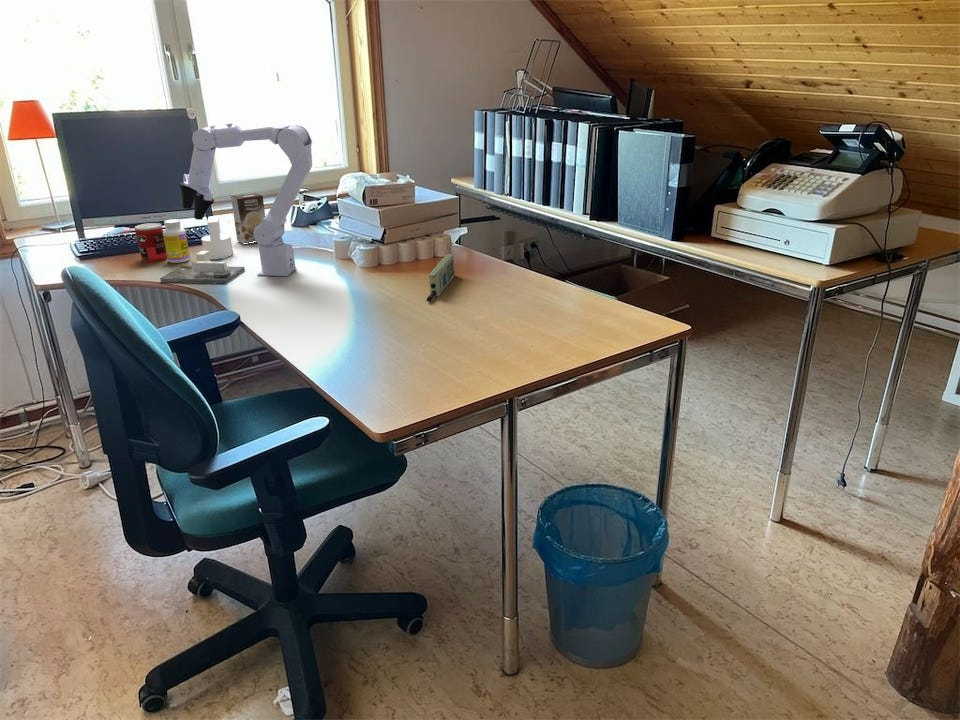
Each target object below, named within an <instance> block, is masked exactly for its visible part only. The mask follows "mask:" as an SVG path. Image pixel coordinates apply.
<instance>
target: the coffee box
mask: <svg viewBox="0 0 960 720" xmlns="http://www.w3.org/2000/svg"><path fill="white" fill-rule="evenodd" d="M230 201H231V206H232V212H233V213H232V215H233V221H234V227H235V234H236V235H235V236H236V240H237V241H239V242H241V243H249V242H253V241H256V240H255V239H254V236H253V232H254V229H255V227H257V226H258V225H260V224H261V222H262V221H263V219H264V218H265V216H266V213H265V212H266V211H265V204H264V197H263V194H260V193H256V192H253V193H245V194H237V195H235V194H234V195H231V196H230ZM239 242H238V243H239ZM241 243H240V244H241Z"/></svg>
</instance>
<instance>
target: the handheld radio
mask: <svg viewBox="0 0 960 720" xmlns="http://www.w3.org/2000/svg"><path fill="white" fill-rule="evenodd" d="M454 258H455V257H454V255H453V254H451V253H450V254H445V255H444V257H442V259H441V260H440V261H439V262H438V264H437V265H436V266H435V267H434V268H433V269H432V271H431V272H429V274H428V277H429V278H428V279H429V289H430V293H429V295H428V296H427V298H426V301H427V302H428V303H430V302H431V301H433V299H434V297H436V296H438V297H440V295H441V294H442V293H443V292H444V290H445V289H446V288H447V286H448V285H449V284H450V283H451V281H452V280H453V279H454V277H455V276H456V273H455V272H456V271H455V259H454Z"/></svg>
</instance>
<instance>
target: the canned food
mask: <svg viewBox="0 0 960 720" xmlns="http://www.w3.org/2000/svg"><path fill="white" fill-rule="evenodd" d="M134 230H135V237H136V241H137V245H138V248H139V249H138V250H139V253H140V258H141V260H142V262H144V261H146V262H145V263H156V262H155V261H158V262H162V260H163V261H165V260H168V257H167V252H166V247H165V242H164V237H163V231H164V230H163V226H162V224H161V223H159V222H149V223H141V224H138V225H136V226H134Z"/></svg>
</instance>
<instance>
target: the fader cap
mask: <svg viewBox="0 0 960 720" xmlns="http://www.w3.org/2000/svg"><path fill="white" fill-rule="evenodd" d="M195 256H196V261H210V262H212V259H211V258H210V252H209V251H204V250H201V251H199V252H198V253H195Z"/></svg>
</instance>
